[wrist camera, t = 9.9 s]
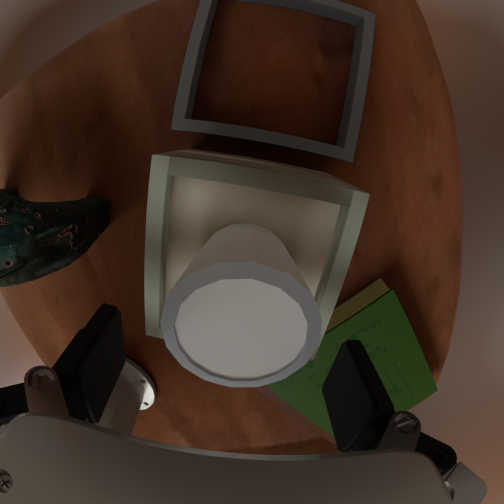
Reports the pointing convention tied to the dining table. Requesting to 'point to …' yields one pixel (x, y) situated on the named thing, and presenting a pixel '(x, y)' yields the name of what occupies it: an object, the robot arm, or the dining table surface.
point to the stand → (247, 219)
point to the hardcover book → (378, 348)
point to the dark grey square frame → (319, 3)
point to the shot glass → (241, 311)
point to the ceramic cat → (45, 234)
